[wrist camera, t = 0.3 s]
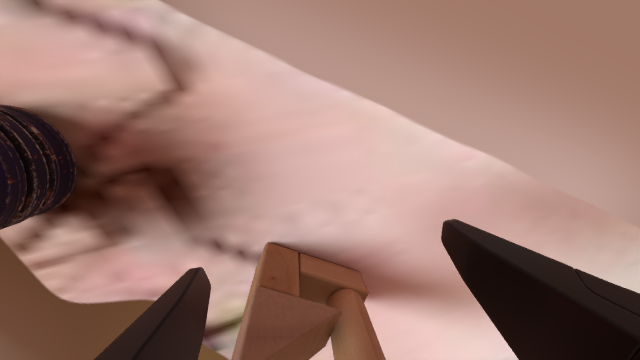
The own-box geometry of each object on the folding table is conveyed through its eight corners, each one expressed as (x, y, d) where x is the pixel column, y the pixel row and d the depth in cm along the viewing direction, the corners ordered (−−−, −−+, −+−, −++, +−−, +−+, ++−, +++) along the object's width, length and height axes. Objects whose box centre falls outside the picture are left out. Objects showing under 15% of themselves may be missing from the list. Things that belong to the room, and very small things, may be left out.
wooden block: (267, 240, 25) (201, 504, 8) (360, 270, 27) (481, 540, 9) (255, 270, 26) (168, 580, 8) (347, 298, 28) (437, 600, 10)
